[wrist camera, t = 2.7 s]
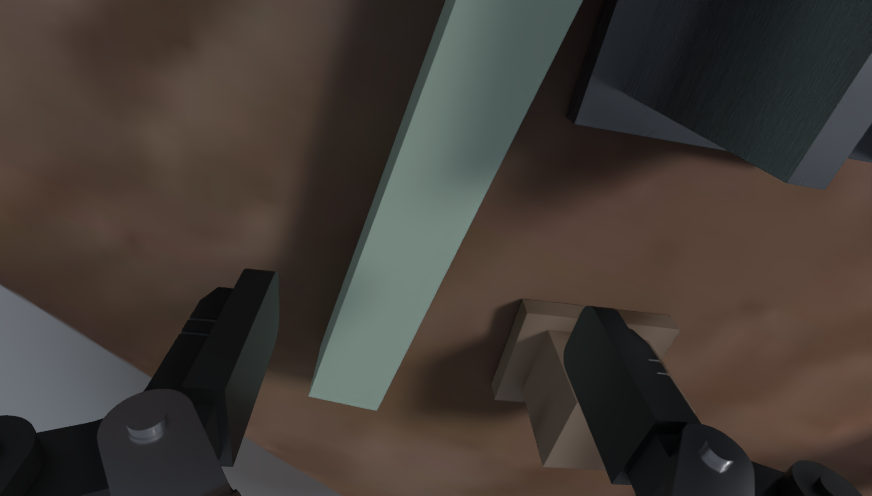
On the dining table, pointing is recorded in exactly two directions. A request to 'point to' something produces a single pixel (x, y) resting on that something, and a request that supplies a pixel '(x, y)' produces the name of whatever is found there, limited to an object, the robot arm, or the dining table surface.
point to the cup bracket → (736, 80)
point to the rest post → (561, 377)
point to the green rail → (435, 183)
